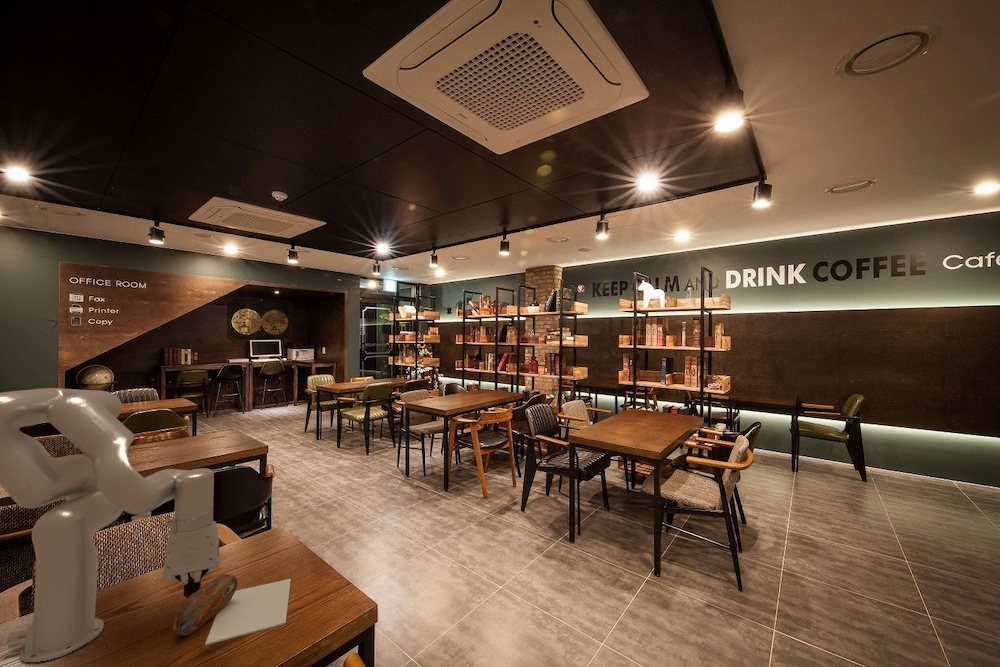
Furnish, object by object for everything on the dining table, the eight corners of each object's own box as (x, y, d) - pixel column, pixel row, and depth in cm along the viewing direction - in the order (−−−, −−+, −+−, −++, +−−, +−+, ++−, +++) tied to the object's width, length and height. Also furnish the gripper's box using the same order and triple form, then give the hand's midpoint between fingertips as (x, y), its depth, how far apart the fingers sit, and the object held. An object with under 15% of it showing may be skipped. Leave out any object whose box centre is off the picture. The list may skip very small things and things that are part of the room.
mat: (205, 645, 87) (205, 643, 87) (224, 594, 105) (224, 593, 105) (285, 624, 94) (285, 622, 94) (290, 580, 112) (290, 578, 112)
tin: (177, 644, 87) (183, 610, 87) (166, 639, 88) (172, 605, 87) (235, 599, 102) (240, 569, 101) (225, 595, 102) (231, 565, 102)
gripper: (148, 534, 88) (146, 616, 87) (227, 521, 94) (225, 597, 94) (161, 521, 95) (158, 597, 94) (233, 510, 101) (231, 581, 100)
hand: (192, 597), depth 94 cm, fingers closed
